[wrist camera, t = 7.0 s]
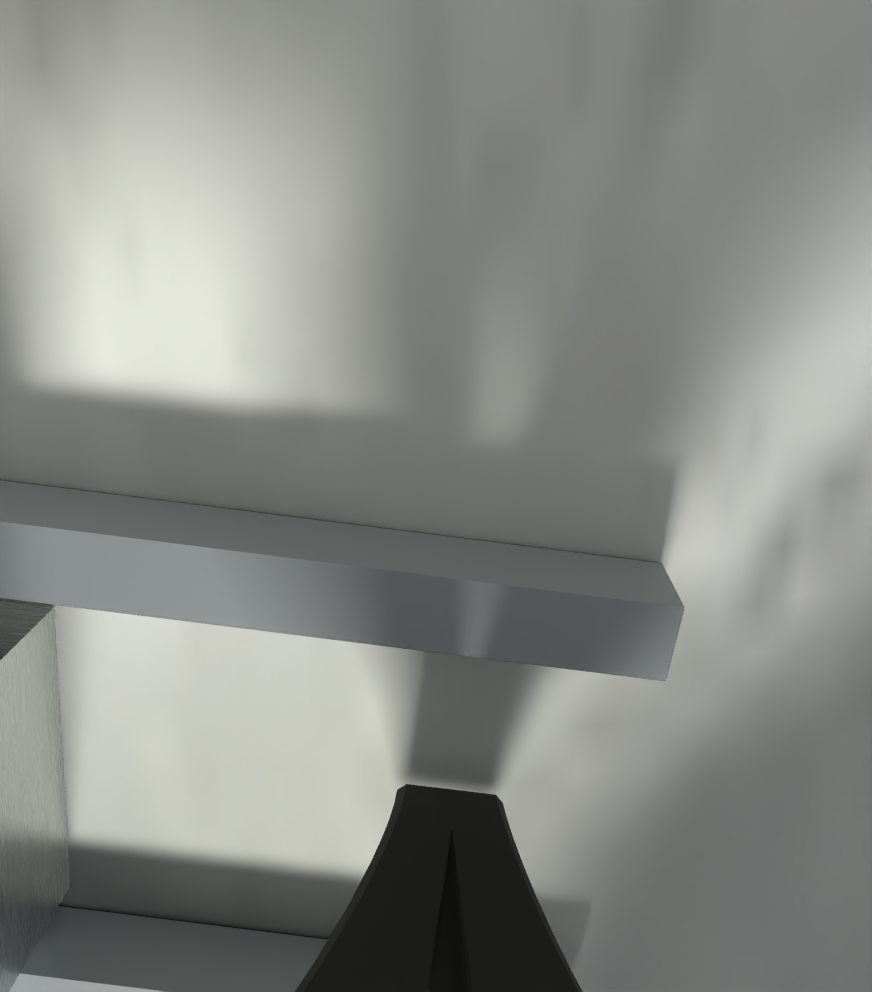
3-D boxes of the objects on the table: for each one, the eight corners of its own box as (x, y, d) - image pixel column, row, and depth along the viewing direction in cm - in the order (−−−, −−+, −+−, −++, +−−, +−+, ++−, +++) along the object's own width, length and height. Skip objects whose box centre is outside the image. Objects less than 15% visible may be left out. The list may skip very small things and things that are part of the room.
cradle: (661, 563, 11) (684, 607, 9) (554, 1013, 13) (562, 1087, 12) (-535, 413, 10) (-656, 439, 9) (-386, 896, 13) (-465, 962, 12)
